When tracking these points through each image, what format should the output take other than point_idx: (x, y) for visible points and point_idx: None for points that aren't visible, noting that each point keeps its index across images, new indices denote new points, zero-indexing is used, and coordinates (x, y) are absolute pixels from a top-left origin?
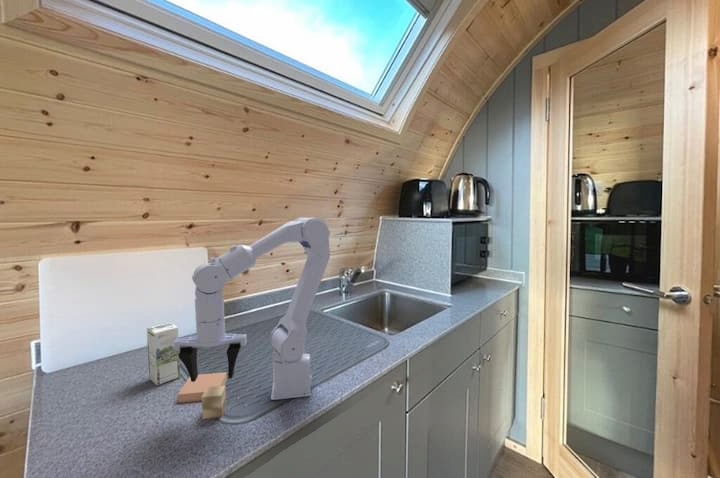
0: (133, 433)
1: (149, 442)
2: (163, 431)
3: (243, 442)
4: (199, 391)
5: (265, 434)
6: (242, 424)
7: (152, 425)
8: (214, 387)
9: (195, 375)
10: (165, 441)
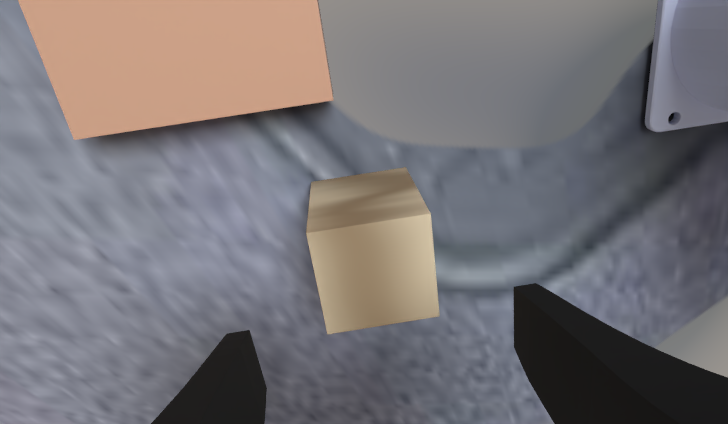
0: (70, 348)
1: None
2: (196, 337)
3: None
4: (206, 107)
5: None
6: None
7: (113, 304)
8: (361, 233)
9: (255, 397)
10: None
